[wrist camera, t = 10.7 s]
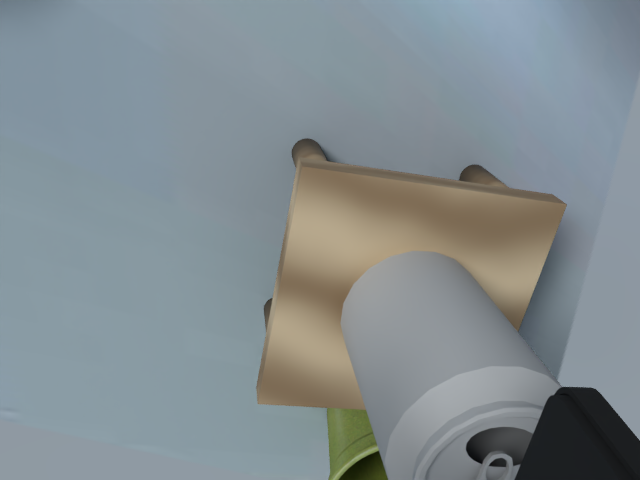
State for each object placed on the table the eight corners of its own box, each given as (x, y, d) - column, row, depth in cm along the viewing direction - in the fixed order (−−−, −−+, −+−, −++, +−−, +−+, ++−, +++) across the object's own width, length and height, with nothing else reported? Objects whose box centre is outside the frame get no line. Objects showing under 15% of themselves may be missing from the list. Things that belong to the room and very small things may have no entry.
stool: (286, 125, 34) (302, 166, 27) (501, 159, 37) (566, 204, 30) (252, 325, 40) (257, 403, 33) (441, 341, 43) (485, 416, 35)
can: (494, 257, 31) (638, 412, 20) (444, 371, 33) (548, 561, 23) (361, 230, 29) (441, 384, 18) (320, 353, 32) (369, 550, 21)
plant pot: (448, 373, 44) (495, 459, 36) (392, 463, 47) (425, 560, 39) (338, 339, 41) (364, 426, 33) (286, 437, 44) (299, 537, 37)
